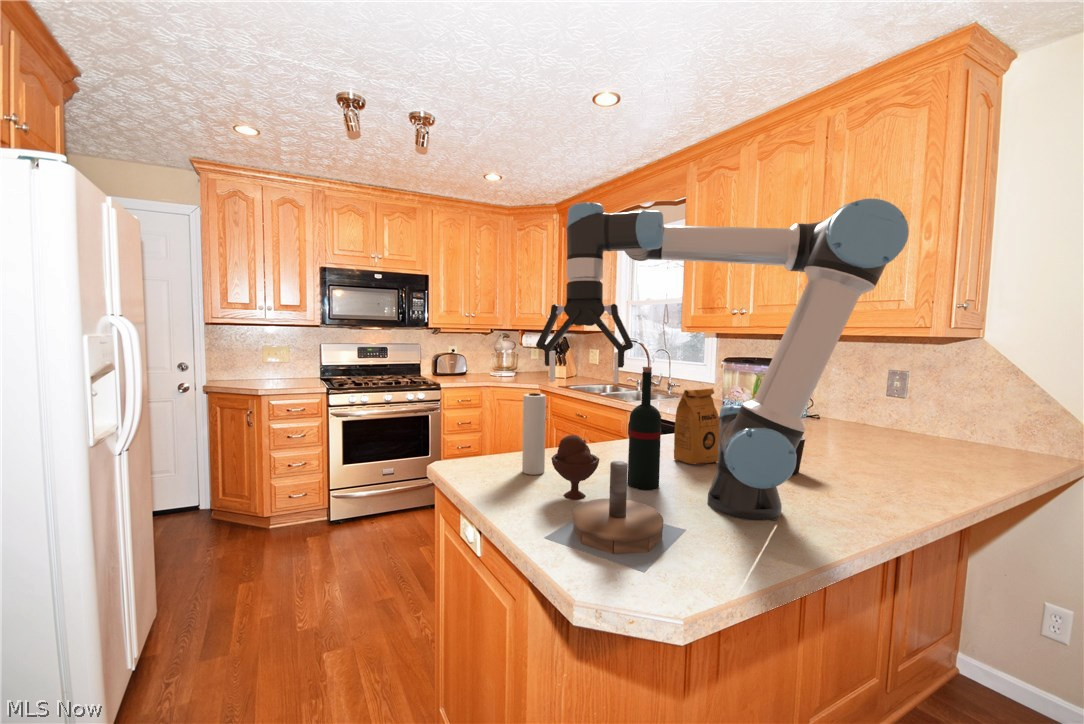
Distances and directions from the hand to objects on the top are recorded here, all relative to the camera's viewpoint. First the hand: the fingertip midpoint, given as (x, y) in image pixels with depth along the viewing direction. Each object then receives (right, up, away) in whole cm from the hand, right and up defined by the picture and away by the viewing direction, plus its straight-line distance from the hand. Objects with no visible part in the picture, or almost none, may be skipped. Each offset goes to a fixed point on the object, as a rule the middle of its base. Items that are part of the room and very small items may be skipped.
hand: (583, 382), depth 100 cm
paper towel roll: (-11, -26, +29) cm, 40 cm away
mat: (+6, -29, -10) cm, 31 cm away
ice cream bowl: (-1, -28, +10) cm, 29 cm away
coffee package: (+37, -26, +41) cm, 61 cm away
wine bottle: (+16, -27, +21) cm, 38 cm away
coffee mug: (+59, -27, +32) cm, 72 cm away
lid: (+6, -29, -10) cm, 31 cm away
